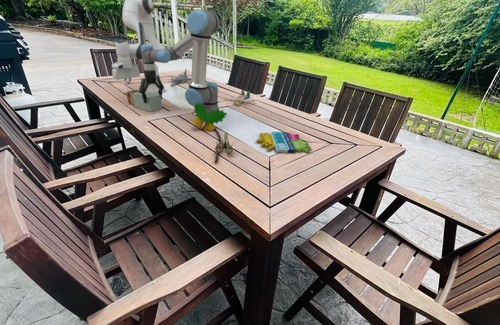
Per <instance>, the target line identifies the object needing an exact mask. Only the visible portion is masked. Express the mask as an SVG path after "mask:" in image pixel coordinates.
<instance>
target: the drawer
mask: <svg viewBox="0 0 500 325" xmlns="http://www.w3.org/2000/svg"><path fill="white" fill-rule="evenodd" d="M135 92H139V89H134V90H129V91H126V92H123V96H126V98H127V103H128V104H132V105H135V104H134V98H133V93H135Z"/></svg>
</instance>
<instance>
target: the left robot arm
mask: <svg viewBox="0 0 500 325" xmlns="http://www.w3.org/2000/svg"><path fill="white" fill-rule="evenodd" d="M122 4H123V5H122V14H121V18H122V22H123V24H124V25H125V26H126V27H127V28H128V29H130V30H133V31H135V32H136V33H137V41H138V43H137V42H136V43H132V44H131V43H129V42H128V40H127V39H121V38H120V39H117V40H115V42H114V44H115V53H116V56H117V61H116V62H114V63H113V64H111V68H112V70H111V75H112V78H113V80H116V81H120V80H123V81H124V82H125V85H131V82H132V78H138V77H140V75H141V73H140V69H139V64H137V63H132V60H133V59H135V60H139V61H140V62H141V64H142V65H143V61H142V54H141V45H152V46H153V49H156V50H163V49H166V48H165V46H164V45H163V44H161V43H160V42H159V40H158V39H157V37H156V32H155V24H154V18H153V14H152V12H153V10H154V1H153V0H123V3H122ZM146 40H147V41H148V43H147V42H146ZM155 71H156V76H159V77H160V74H159V66H158V64H157V63H155ZM144 78H145V76H144ZM156 82H157V80H156ZM157 83H158V82H157ZM147 84H148V83H147ZM158 84H159V83H158ZM158 90H159V89H158V87H157V86H156V85H155V84H150V85H149V86H148V88H147V90H146V91H148V92H152V93H155V94H158ZM163 92H165V88H164V89H163V90H162V93H163Z"/></svg>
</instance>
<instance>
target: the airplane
mask: <svg viewBox="0 0 500 325" xmlns="http://www.w3.org/2000/svg"><path fill="white" fill-rule="evenodd" d="M169 77H170V80H173V79H174V80H173V81H172V82H171V83H170V87H171V86H172V87H173V86H175V85H177V84H180V83H181V84H183V83H185V82H186V81H188V82H191V81H192V77H191V75H188V74H187V68H185V70H184V72H183V74H179V76H175V75H174V76H173V75H168V78H169Z"/></svg>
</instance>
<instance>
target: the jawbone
mask: <svg viewBox="0 0 500 325" xmlns="http://www.w3.org/2000/svg"><path fill="white" fill-rule="evenodd" d="M223 135H224V136H223V140H222V139H221V144H220V145H219V143H218V142H215V144H216V146H215V148H214V149H215V152H214V154H215V155H217V153H219V154H218V156H219V155H220V153H221V152H223V151H224V150H226V152H227V153H228V155H229V156H233V155H234V154H233V153H234V148H233V144H234V143H230V140H228V139H229V138H228V137H229V136H228V135H229V133H228V131H226V132H224V134H223Z"/></svg>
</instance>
